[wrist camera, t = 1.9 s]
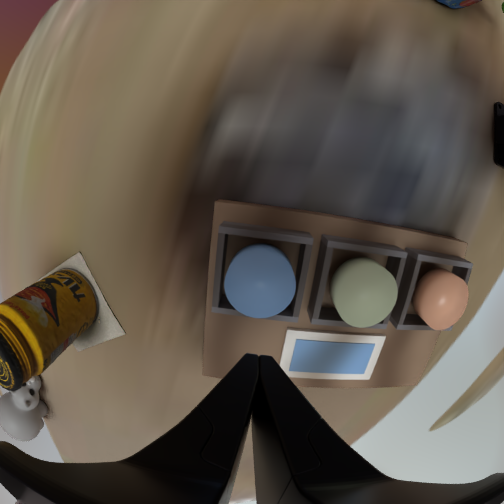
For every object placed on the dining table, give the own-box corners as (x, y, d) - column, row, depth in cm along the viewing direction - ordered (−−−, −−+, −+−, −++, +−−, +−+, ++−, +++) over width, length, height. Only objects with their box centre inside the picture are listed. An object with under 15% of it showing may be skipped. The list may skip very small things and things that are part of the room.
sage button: (391, 260, 17) (404, 270, 15) (377, 315, 18) (387, 329, 16) (336, 252, 17) (344, 262, 15) (323, 311, 18) (329, 325, 16)
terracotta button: (460, 270, 17) (475, 279, 15) (444, 318, 18) (457, 330, 16) (421, 264, 17) (435, 274, 15) (406, 317, 18) (417, 330, 16)
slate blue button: (297, 247, 17) (301, 256, 15) (287, 307, 18) (289, 321, 17) (231, 239, 17) (227, 247, 16) (225, 299, 18) (221, 313, 17)
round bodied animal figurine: (68, 383, 30) (42, 408, 21) (45, 431, 28) (23, 458, 20) (30, 350, 29) (-2, 367, 20) (11, 402, 27) (-16, 423, 19)
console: (454, 238, 20) (482, 249, 16) (409, 373, 24) (424, 397, 20) (219, 199, 20) (209, 204, 16) (206, 361, 24) (197, 390, 20)
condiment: (80, 251, 22) (-19, 303, 10) (126, 333, 24) (58, 421, 12) (38, 279, 23) (-44, 330, 11) (79, 350, 25) (16, 421, 13)
